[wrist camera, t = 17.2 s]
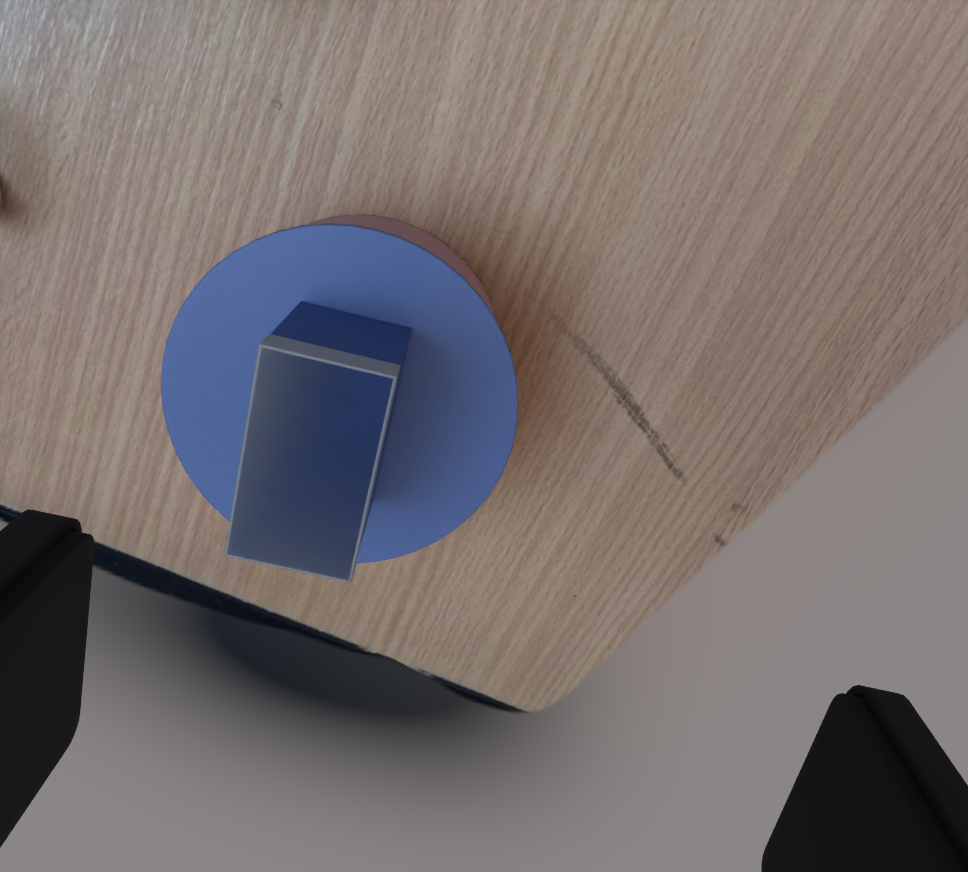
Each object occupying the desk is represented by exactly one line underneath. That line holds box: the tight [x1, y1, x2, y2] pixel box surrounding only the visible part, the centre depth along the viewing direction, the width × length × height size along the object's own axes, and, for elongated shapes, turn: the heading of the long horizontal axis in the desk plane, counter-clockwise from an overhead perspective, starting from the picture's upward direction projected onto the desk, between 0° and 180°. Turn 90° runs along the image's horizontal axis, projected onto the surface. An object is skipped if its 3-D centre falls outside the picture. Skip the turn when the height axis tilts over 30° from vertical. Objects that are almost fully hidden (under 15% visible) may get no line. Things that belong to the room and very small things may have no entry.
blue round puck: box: [161, 215, 518, 563], centre depth 35 cm, size 13×13×7 cm
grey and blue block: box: [224, 301, 412, 583], centre depth 29 cm, size 4×7×6 cm, turn 166°
